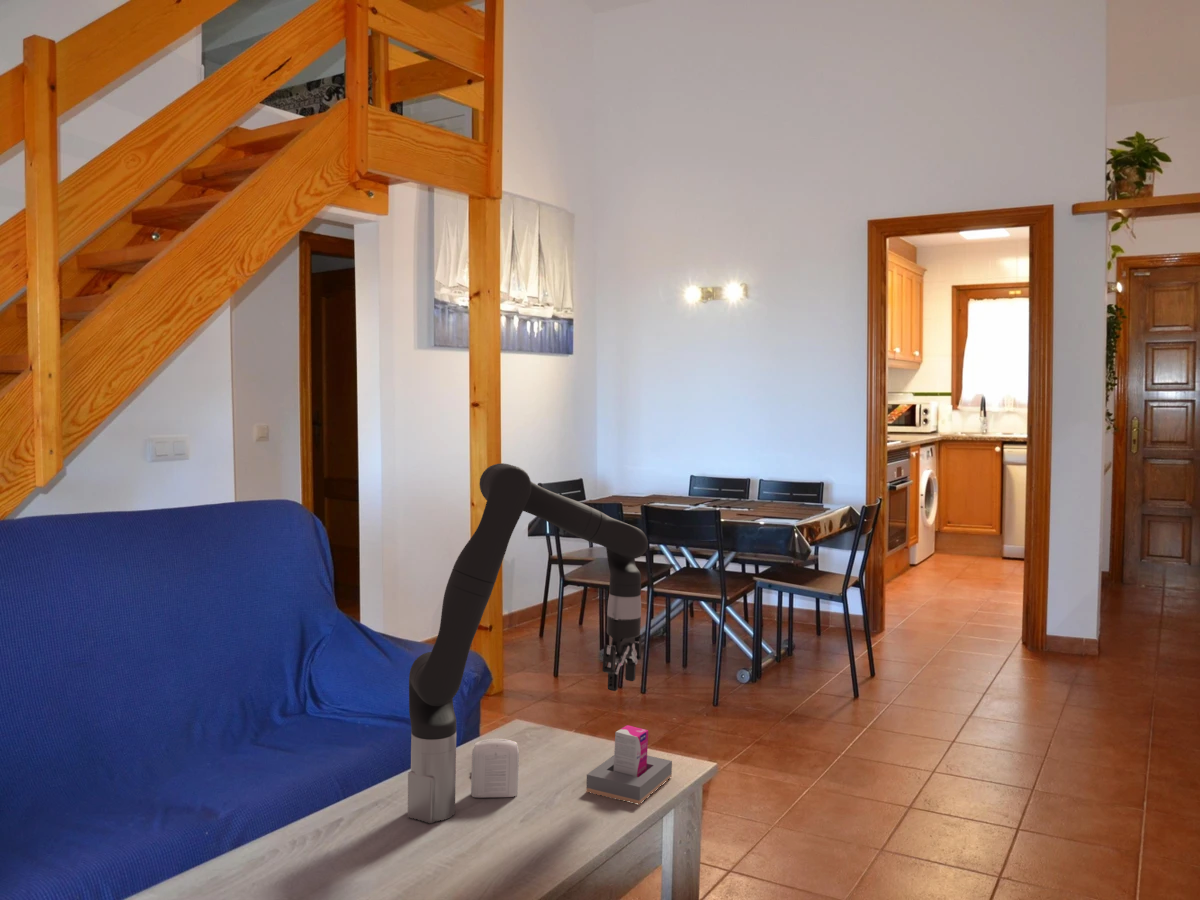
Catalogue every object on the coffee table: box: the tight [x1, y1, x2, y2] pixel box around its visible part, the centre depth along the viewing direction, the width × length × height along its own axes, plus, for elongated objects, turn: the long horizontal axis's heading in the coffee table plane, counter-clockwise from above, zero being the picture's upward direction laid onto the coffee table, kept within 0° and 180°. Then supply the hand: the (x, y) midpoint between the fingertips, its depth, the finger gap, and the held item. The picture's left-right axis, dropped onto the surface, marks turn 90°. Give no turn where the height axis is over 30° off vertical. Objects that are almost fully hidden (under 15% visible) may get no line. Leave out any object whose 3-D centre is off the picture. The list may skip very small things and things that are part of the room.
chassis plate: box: [585, 754, 673, 805], centre depth 219 cm, size 17×13×4 cm
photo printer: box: [470, 738, 520, 798], centre depth 212 cm, size 10×4×12 cm, turn 98°
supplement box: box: [613, 724, 649, 777], centre depth 219 cm, size 6×6×12 cm
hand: (621, 685), depth 218 cm, fingers open, 8 cm apart
